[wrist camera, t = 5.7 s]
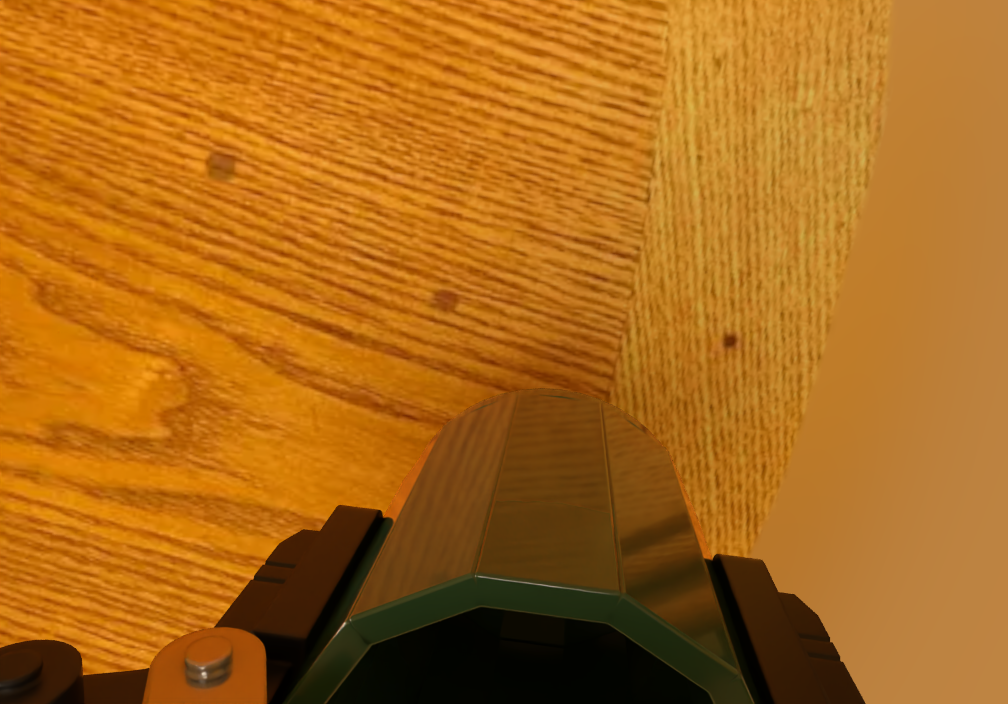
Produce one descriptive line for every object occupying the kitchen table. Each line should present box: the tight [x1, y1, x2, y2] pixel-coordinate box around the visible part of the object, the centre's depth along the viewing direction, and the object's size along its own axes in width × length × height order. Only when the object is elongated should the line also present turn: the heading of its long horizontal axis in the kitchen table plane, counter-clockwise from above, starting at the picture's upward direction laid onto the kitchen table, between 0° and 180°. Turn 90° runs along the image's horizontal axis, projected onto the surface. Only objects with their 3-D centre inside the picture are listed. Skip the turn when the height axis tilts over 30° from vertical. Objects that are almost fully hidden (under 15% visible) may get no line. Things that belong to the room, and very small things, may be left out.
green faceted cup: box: [282, 389, 762, 704], centre depth 11 cm, size 6×6×6 cm
